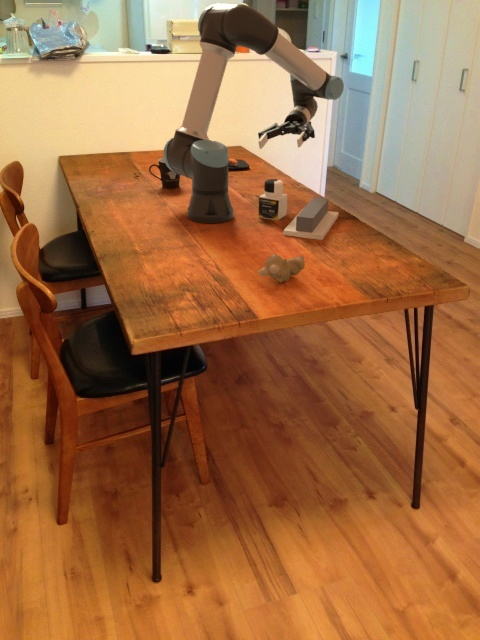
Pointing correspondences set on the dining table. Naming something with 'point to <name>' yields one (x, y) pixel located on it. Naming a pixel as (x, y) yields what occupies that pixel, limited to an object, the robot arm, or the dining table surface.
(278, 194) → the medicine bottle
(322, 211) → the stand
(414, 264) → the dining table surface
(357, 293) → the dining table surface
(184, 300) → the dining table surface
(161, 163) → the coffee mug
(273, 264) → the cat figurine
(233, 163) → the sushi plate
